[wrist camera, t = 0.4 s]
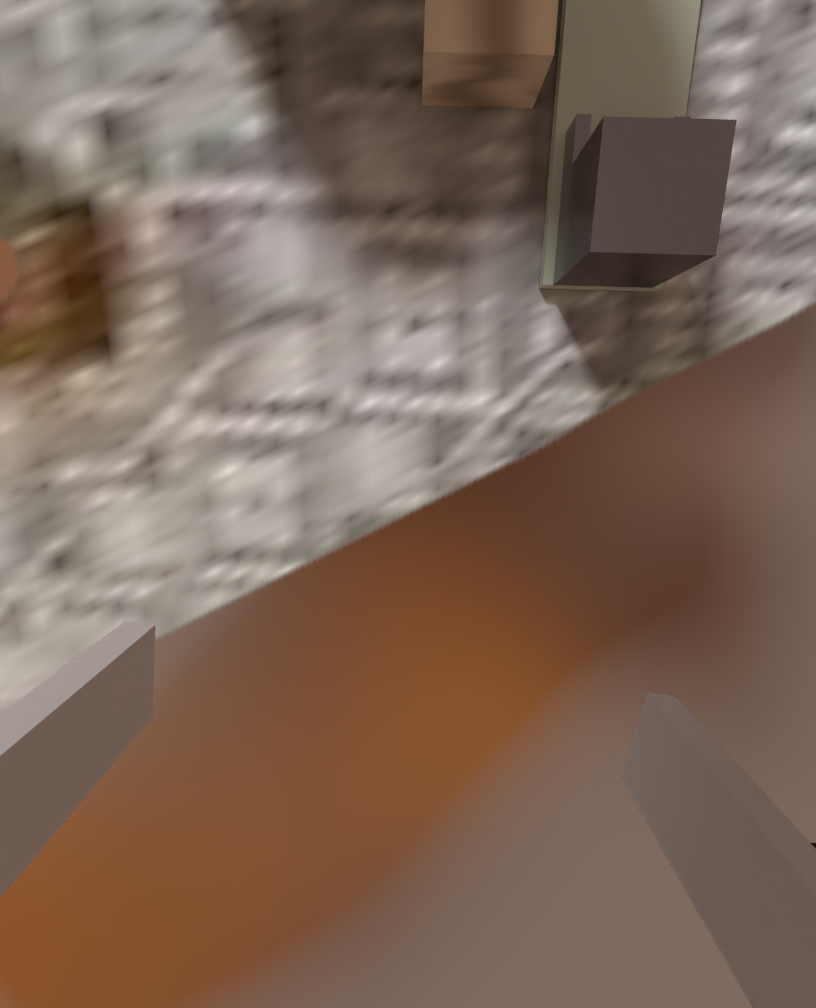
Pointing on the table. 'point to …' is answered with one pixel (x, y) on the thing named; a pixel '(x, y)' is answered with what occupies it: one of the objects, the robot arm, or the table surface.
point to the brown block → (487, 52)
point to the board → (615, 82)
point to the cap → (640, 199)
